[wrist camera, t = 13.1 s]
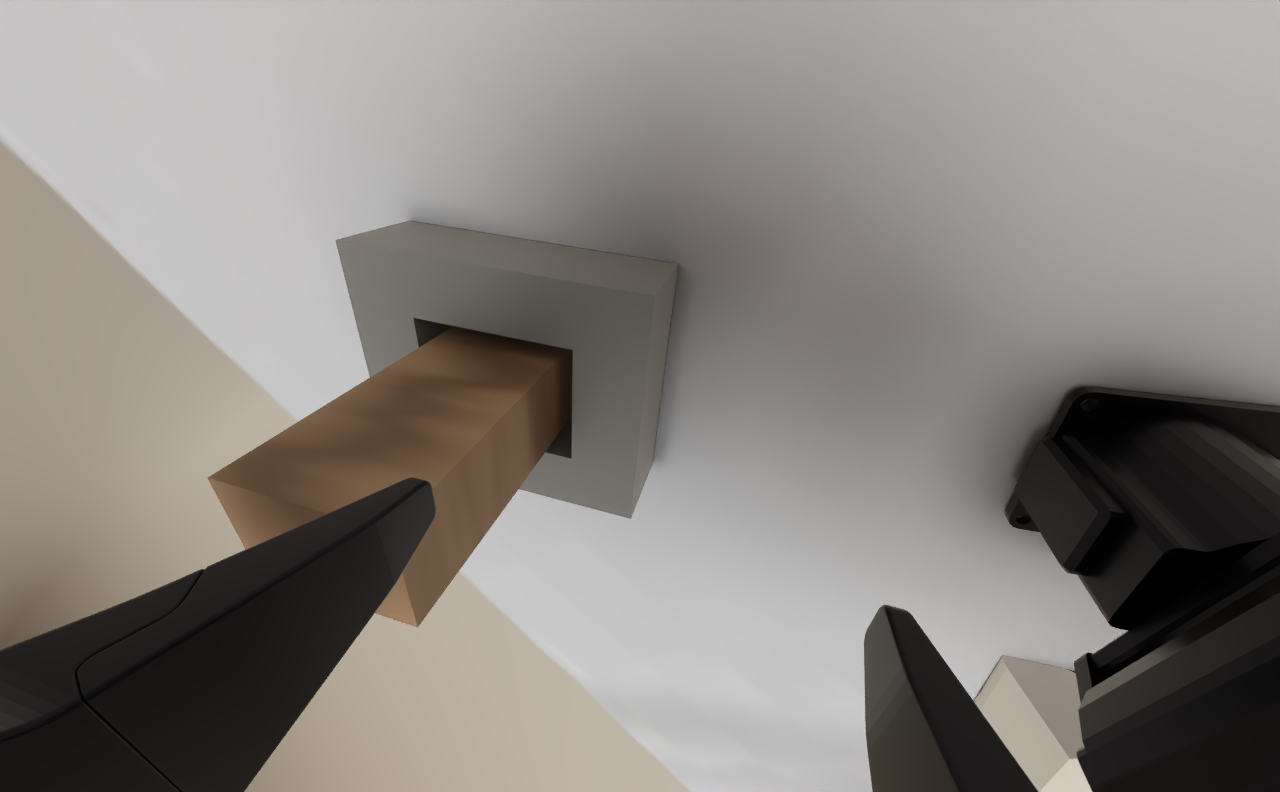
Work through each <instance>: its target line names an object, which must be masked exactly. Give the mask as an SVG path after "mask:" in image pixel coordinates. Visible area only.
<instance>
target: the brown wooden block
mask: <svg viewBox="0 0 1280 792" xmlns="http://www.w3.org/2000/svg"><path fill="white" fill-rule="evenodd" d="M572 372H573V350H570V349H565V348H560V347H555V346H550V345H546V344H541V343H536V342H531V341H526V340H521V339H516V338H511V337H506V336H501V335H496V334H491V333H486V332H481V331H476V330H471V329H466V328H462V327H457V326H453V327H451V328H450V329H448V330H447V331H445V332H443V333H442V334H440V335H438V336H437V337H435V338H434V339H432V340H430V341H429V342H427V343H425V344H424V345H422V346H421V347H419V348H417V349H416V350H414V351H413V352H411V353H409V354H408V355H406V356H404V357H403V358H401V359H400V360H398V361H396V362H395V363H393V364H391V365H390V366H388V367H387V368H385V369H383V370H382V371H380V372H378V373H377V374H375V375H374V376H372V377H370V378H369V379H367V380H365V381H364V382H362V383H361V384H359V385H357V386H356V387H354V388H353V389H351V390H349V391H348V392H346V393H344V394H343V395H341V396H340V397H338V398H336V399H335V400H333V401H331V402H330V403H328V404H327V405H325V406H323V407H322V408H320V409H318V410H317V411H315V412H314V413H312V414H310V415H309V416H307V417H305V418H304V419H302V420H301V421H299V422H297V423H296V424H294V425H293V426H291V427H289V428H288V429H286V430H284V431H283V432H281V433H280V434H278V435H276V436H275V437H273V438H272V439H270V440H268V441H267V442H265V443H264V444H262V445H260V446H259V447H257V448H255V449H254V450H252V451H250V452H249V453H247V454H246V455H244V456H242V457H241V458H239V459H237V460H236V461H234V462H232V463H231V464H229V465H228V466H226V467H225V468H223V469H221V470H220V471H218V472H216V473H215V474H213V475H211V476H210V477H208V480H209V482H210V483H211V485H212V487H213V489H214V491H215V493H216V494H217V497H218V498H219V500H220V502H221V504H222V506H223V507H224V510H225V512H226V513H227V515H228V517H229V519H230V521H231V523H232V525H233V527H234V529H235V530H236V532H237V534H238V536H239V538H240V540H241V542H242V543H243V545H244V547H245V549H248V548H251V547H253V546H255V545H257V544H260V543H262V542H264V541H267V540H269V539H271V538H273V537H276V536H278V535H280V534H282V533H285V532H287V531H289V530H291V529H294V528H296V527H298V526H300V525H303V524H305V523H307V522H309V521H312V520H314V519H316V518H318V517H321V516H323V515H325V514H328V513H330V512H332V511H334V510H337V509H339V508H341V507H343V506H346V505H348V504H350V503H352V502H355V501H357V500H359V499H361V498H364V497H366V496H368V495H370V494H373V493H375V492H377V491H380V490H382V489H384V488H386V487H389V486H391V485H393V484H395V483H398V482H400V481H402V480H404V479H407V478H410V477H414V478H418V479H422V480H426V481H428V482H429V483H430V484H431V486H432V491H433V496H434V501H435V506H436V514H435V518H434V520H433V522H432V524H431V525H430V527H429V529H428V530H427V532H426V534H425V535H424V537H423V539H422V540H421V542H420V544H419V546H418V547H417V549H416V551H415V552H414V554H413V556H412V557H411V559H410V561H409V562H408V564H407V566H406V568H405V569H404V571H403V573H402V574H401V576H400V577H399V579H398V581H397V582H396V584H395V585H394V587H393V588H392V590H391V591H390V592H389V594H388V595H387V597H386V598H385V599H384V601H383V602H382V603H381V605H380V606H379V608H378V609H377V610H376V612H375V613H376V614H380V615H382V616H385V617H388V618H391V619H394V620H397V621H400V622H403V623H406V624H409V625H412V626H415V627H418V626H419V625H420V624H421V622H422V621H423V619H424V618H425V617H426V615H427V614H428V612H429V611H430V610H431V608H432V607H433V606H434V604H435V603H436V601H437V600H438V599H439V597H440V596H441V595H442V593H443V592H444V591H445V589H446V588H447V586H448V585H449V584H450V582H451V581H452V580H453V578H454V577H455V575H456V574H457V573H458V571H459V570H460V569H461V567H462V566H463V564H464V563H465V562H466V560H467V559H468V558H469V556H470V555H471V553H472V552H473V551H474V549H475V548H476V547H477V545H478V544H479V542H480V541H481V540H482V538H483V537H484V536H485V534H486V533H487V531H488V530H489V529H490V527H491V526H492V525H493V523H494V522H495V520H496V519H497V518H498V516H499V515H500V514H501V512H502V511H503V509H504V508H505V507H506V505H507V504H508V503H509V501H510V500H511V498H512V497H513V496H514V494H515V493H516V492H517V490H518V489H519V487H520V486H521V485H522V483H523V482H524V481H525V479H526V478H527V476H528V475H529V474H530V472H531V471H532V470H533V468H534V467H535V465H536V464H537V463H538V461H539V460H540V459H541V457H542V456H543V455H544V453H545V452H546V450H547V449H548V448H549V446H550V445H551V444H552V442H553V441H554V439H555V438H556V437H557V435H558V434H559V433H560V431H561V430H562V428H563V427H564V426H565V424H566V423H567V422H568V420H569V419H570V417H571V416H572Z"/></svg>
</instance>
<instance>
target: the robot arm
mask: <svg viewBox="0 0 1280 792" xmlns="http://www.w3.org/2000/svg"><path fill="white" fill-rule="evenodd" d="M1087 399H1092V401H1091V402H1090V403H1088V404H1086V405H1081V403H1082V402H1083V401H1084V400H1087ZM1015 492H1016V493H1015V495H1014V496H1013V498H1012V500H1011V502H1010V504H1009V506H1008V508H1007V509H1006V512H1005V515H1006V518H1007V519H1008V521H1009V523H1010V524H1011V525H1012V526H1013V527H1016V528H1019V529H1025V530H1030V531H1036V532H1040V533H1041V534H1042V536H1043V538H1044V539H1045V541H1046V542H1047V544H1048V546H1049V547H1050V549H1051V550H1052V552H1053V554H1054V555H1055V557H1056V559H1057V560H1058V562H1059V563H1060V565H1061V566H1062V567H1063V569H1064V570H1065V571H1066V572H1067V573H1071V574H1076V575H1078V576H1079V578H1080V580H1081V581H1082V583H1083V584H1084V586H1085V587H1086V589H1087V590H1088V592H1089V594H1090V595H1091V597H1092V598H1093V600H1094V601H1095V603H1096V604H1097V606H1098V608H1099V609H1100V611H1101V612H1102V614H1103V615H1104V617H1105V618H1106V620H1107V622H1108V623H1109V624H1110V626H1112V627H1115V628H1119V629H1124V630H1128V631H1127V632H1126V633H1124V634H1123V635H1121V636H1119V637H1118V638H1116V639H1115V640H1113V641H1112V642H1110V643H1109V644H1107V645H1106V646H1104V647H1103V648H1101V649H1100V650H1098V651H1097V652H1095V653H1094V654H1092V653H1086V654H1085V655H1083V656H1082V657H1080V658H1079V659H1077V660H1076V661H1074V667H1075V673H1076V679H1077V685H1078V691H1079V697H1080V703H1081V705H1080V707H1079V709H1078V713H1079V720H1080V727H1081V735H1082V741H1083V744H1084V747H1082V748H1080V749H1078V751H1077V752H1076V753H1077V759H1078V761H1079V764H1080V767H1081V769H1082V771H1083V773H1084V775H1085V778H1086V780H1087V782H1088V784H1089V786H1090V788H1091V791H1092V792H1280V407H1272V406H1262V405H1253V404H1244V403H1235V402H1225V401H1216V400H1207V399H1198V398H1188V397H1179V396H1170V395H1161V394H1152V393H1142V392H1133V391H1124V390H1115V389H1105V388H1096V387H1082V388H1079V389H1076V390H1074V391H1073V392H1071V393H1070V394H1069V395H1068V397H1067V398H1066V400H1065V402H1064V404H1063V406H1062V407H1061V409H1060V411H1059V413H1058V415H1057V417H1056V419H1055V420H1054V422H1053V424H1052V426H1051V428H1050V430H1049V432H1048V433H1047V435H1046V437H1045V438H1044V439H1042V440H1041V441H1040V442H1039V444H1038V446H1037V448H1036V449H1035V451H1034V453H1033V455H1032V457H1031V459H1030V461H1029V462H1028V464H1027V466H1026V468H1025V470H1024V472H1023V474H1022V476H1021V477H1020V479H1019V481H1018V483H1017V485H1016V487H1015ZM435 514H436V506H435V501H434V496H433V491H432V486H431V484H430V483H429V482H428V481H426V480H422V479H418V478H414V477H410V478H407V479H404V480H402V481H400V482H398V483H395V484H393V485H391V486H389V487H386V488H384V489H382V490H380V491H377V492H375V493H373V494H370V495H368V496H366V497H364V498H361V499H359V500H357V501H355V502H352V503H350V504H348V505H346V506H343V507H341V508H339V509H337V510H334V511H332V512H330V513H328V514H325V515H323V516H321V517H318V518H316V519H314V520H312V521H309V522H307V523H305V524H303V525H300V526H298V527H296V528H294V529H291V530H289V531H287V532H285V533H282V534H280V535H278V536H276V537H273V538H271V539H269V540H267V541H264V542H262V543H260V544H257V545H255V546H253V547H251V548H248V549H246V550H244V551H242V552H240V553H237V554H235V555H233V556H230V557H228V558H226V559H223V560H221V561H219V562H217V563H214V564H212V565H210V566H208V567H207V568H206V569H205V570H204V569H201V570H198V571H196V572H194V573H192V574H189V575H187V576H185V577H183V578H180V579H178V580H176V581H174V582H171V583H169V584H166V585H164V586H162V587H160V588H157V589H155V590H152V591H150V592H148V593H145V594H143V595H141V596H138V597H136V598H134V599H131V600H129V601H126V602H123V603H121V604H118V605H116V606H113V607H111V608H108V609H106V610H103V611H101V612H98V613H96V614H94V615H91V616H88V617H85V618H83V619H80V620H78V621H75V622H72V623H70V624H67V625H65V626H62V627H59V628H57V629H54V630H52V631H49V632H47V633H44V634H41V635H39V636H36V637H33V638H31V639H28V640H25V641H23V642H20V643H18V644H15V645H13V646H10V647H7V648H5V649H2V650H0V792H244V791H245V790H246V788H247V787H248V786H249V784H250V783H251V782H252V780H253V779H254V777H255V776H256V775H257V773H258V772H259V770H260V769H261V768H262V766H263V765H264V764H265V762H266V761H267V760H268V758H269V757H270V755H271V754H272V753H273V751H274V750H275V749H276V747H277V746H278V745H279V743H280V742H281V740H282V739H283V738H284V736H285V735H286V734H287V732H288V731H289V730H290V728H291V727H292V725H293V724H294V723H295V721H296V720H297V719H298V717H299V716H300V714H301V713H302V712H303V710H304V709H305V708H306V706H307V705H308V703H309V702H310V701H311V699H312V698H313V697H314V695H315V694H316V692H317V691H318V690H319V688H320V687H321V686H322V684H323V683H324V682H325V680H326V679H327V677H328V676H329V675H330V673H331V672H332V671H333V669H334V668H335V667H336V665H337V664H338V662H339V661H340V660H341V658H342V657H343V655H344V654H345V653H346V651H347V650H348V649H349V647H350V646H351V645H352V643H353V642H354V640H355V639H356V638H357V636H358V635H359V634H360V632H361V631H362V629H363V628H364V627H365V625H366V624H367V623H368V621H369V620H370V619H371V617H372V616H373V614H374V613H375V612H376V610H377V609H378V608H379V606H380V605H381V603H382V602H383V601H384V599H385V598H386V597H387V595H388V594H389V592H390V591H391V590H392V588H393V587H394V585H395V584H396V582H397V581H398V579H399V577H400V576H401V574H402V573H403V571H404V569H405V568H406V566H407V564H408V562H409V561H410V559H411V557H412V556H413V554H414V552H415V551H416V549H417V547H418V546H419V544H420V542H421V540H422V539H423V537H424V535H425V534H426V532H427V530H428V529H429V527H430V525H431V524H432V522H433V520H434V518H435ZM1021 515H1025V516H1024V517H1018V516H1021ZM864 667H865V721H866V739H867V749H868V758H869V766H870V774H871V782H872V789H873V792H1038V790H1037V789H1036V788H1035V786H1034V785H1033V783H1032V782H1031V781H1030V779H1029V778H1028V776H1027V775H1026V774H1025V772H1024V771H1023V769H1022V768H1021V767H1020V765H1019V764H1018V763H1017V761H1016V760H1015V758H1014V757H1013V756H1012V754H1011V753H1010V751H1009V750H1008V749H1007V747H1006V746H1005V744H1004V743H1003V742H1002V740H1001V739H1000V737H999V736H998V735H997V733H996V732H995V730H994V729H993V728H992V726H991V725H990V723H989V722H988V721H987V719H986V718H985V717H984V715H983V714H982V712H981V711H980V710H979V708H978V707H977V705H976V704H975V703H974V701H973V700H972V698H971V697H970V696H969V694H968V693H967V691H966V690H965V689H964V687H963V686H962V684H961V683H960V682H959V680H958V679H957V677H956V676H955V675H954V673H953V672H952V671H951V669H950V668H949V666H948V665H947V664H946V662H945V661H944V659H943V658H942V657H941V655H940V654H939V652H938V651H937V650H936V648H935V647H934V645H933V644H932V643H931V641H930V640H929V638H928V637H927V636H926V634H925V633H924V632H923V630H922V629H921V627H920V626H919V625H918V623H917V622H916V620H915V619H914V618H913V616H912V615H911V614H910V613H909V612H908V611H906V610H903V609H900V608H896V607H892V606H889V605H883V606H881V607H880V608H879V610H878V612H877V613H876V615H875V617H874V619H873V620H872V622H871V624H870V625H869V627H868V629H867V631H866V634H865V639H864Z"/></svg>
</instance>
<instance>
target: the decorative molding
mask: <svg viewBox="0 0 1280 792" xmlns="http://www.w3.org/2000/svg"><path fill="white" fill-rule="evenodd" d="M974 703H975V704H976V705H977V707H978V708H979V710H980V711H981V712H982V714H983V715H984V717H985V718H986V719H987V721H988V722H989V723H990V725H991V726H992V728H993V729H994V730H995V732H996V733H997V735H998V736H999V737H1000V739H1001V740H1002V742H1003V743H1004V744H1005V746H1006V747H1007V749H1008V750H1009V751H1010V753H1011V754H1012V756H1013V757H1014V758H1015V760H1016V761H1017V763H1018V764H1019V765H1020V767H1021V768H1022V769H1023V771H1024V772H1025V774H1026V775H1027V776H1028V778H1029V779H1030V781H1031V782H1032V783H1033V785H1034V786H1035V788H1036V789H1037V790H1038V792H1092V791H1091V788H1090V786H1089V784H1088V782H1087V780H1086V778H1085V775H1084V773H1083V771H1082V769H1081V767H1080V764H1079V761H1078V759H1077V753H1076V752H1077V751H1078V749H1080V748H1082V747H1084V744H1083V741H1082V735H1081V727H1080V720H1079V713H1078V709H1079V707H1080V705H1081V703H1080V697H1079V691H1078V685H1077V679H1076V673H1074V672H1072V671H1070V670H1067V669H1064V668H1059V667H1055V666H1050V665H1045V664H1040V663H1036V662H1031V661H1026V660H1022V659H1017V658H1012V657H1008V656H1002V658H1001V659H1000V661H999V662H998V664H997V666H996V667H995V669H994V671H993V672H992V674H991V675H990V677H989V679H988V680H987V682H986V684H985V685H984V687H983V689H982V691H981V692H980V693H979V695H978V696H977V697H976V699H975V700H974Z"/></svg>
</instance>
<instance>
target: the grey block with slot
mask: <svg viewBox="0 0 1280 792" xmlns="http://www.w3.org/2000/svg"><path fill="white" fill-rule="evenodd" d="M336 244H337V248H338V252H339V256H340V260H341V264H342V268H343V272H344V276H345V280H346V284H347V288H348V292H349V296H350V300H351V304H352V308H353V312H354V316H355V320H356V324H357V328H358V332H359V336H360V340H361V344H362V348H363V352H364V356H365V360H366V364H367V368H368V371H369V375H370V377H372V376H374V375H375V374H377V373H378V372H380V371H382V370H383V369H385V368H387V367H388V366H390V365H391V364H393V363H395V362H396V361H398V360H400V359H401V358H403V357H404V356H406V355H408V354H409V353H411V352H413V351H414V350H416V349H417V348H419V347H421V346H422V345H424V344H425V343H427V342H429V341H430V340H432V339H434V338H435V337H437V336H438V335H440V334H442V333H443V332H445V331H447V330H448V329H450V328H451V327H453V326H457V327H462V328H466V329H471V330H476V331H481V332H486V333H491V334H496V335H501V336H506V337H511V338H516V339H521V340H526V341H531V342H536V343H541V344H546V345H550V346H555V347H560V348H565V349H570V350H573V372H572V416H571V417H570V419H569V420H568V422H567V423H566V424H565V426H564V427H563V428H562V430H561V431H560V433H559V434H558V435H557V437H556V438H555V439H554V441H553V442H552V444H551V445H550V446H549V448H548V449H547V450H546V452H545V453H544V455H543V456H542V457H541V459H540V460H539V461H538V463H537V464H536V465H535V467H534V468H533V470H532V471H531V472H530V474H529V475H528V476H527V478H526V479H525V481H524V482H523V483H522V485H521V486H520V487H519V489H521V490H525V491H528V492H532V493H536V494H540V495H543V496H547V497H551V498H555V499H559V500H562V501H566V502H570V503H574V504H577V505H581V506H585V507H589V508H593V509H596V510H600V511H604V512H608V513H611V514H615V515H619V516H623V517H627V518H630V519H631V517H632V514H633V512H634V509H635V507H636V504H637V501H638V499H639V496H640V494H641V491H642V489H643V486H644V483H645V481H646V478H647V476H648V473H649V471H650V468H651V466H652V463H653V457H654V449H655V441H656V433H657V426H658V418H659V410H660V402H661V395H662V387H663V379H664V371H665V364H666V356H667V348H668V340H669V333H670V325H671V317H672V309H673V302H674V294H675V286H676V278H677V271H678V264H676V263H670V262H663V261H657V260H651V259H645V258H638V257H632V256H626V255H620V254H613V253H607V252H601V251H595V250H588V249H582V248H576V247H570V246H564V245H557V244H551V243H545V242H539V241H532V240H526V239H520V238H514V237H507V236H501V235H495V234H489V233H483V232H476V231H470V230H464V229H458V228H451V227H445V226H439V225H433V224H426V223H420V222H414V221H406V222H403V223H399V224H395V225H391V226H387V227H384V228H380V229H376V230H372V231H368V232H365V233H361V234H357V235H353V236H349V237H346V238H342V239H338V240H336Z"/></svg>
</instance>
